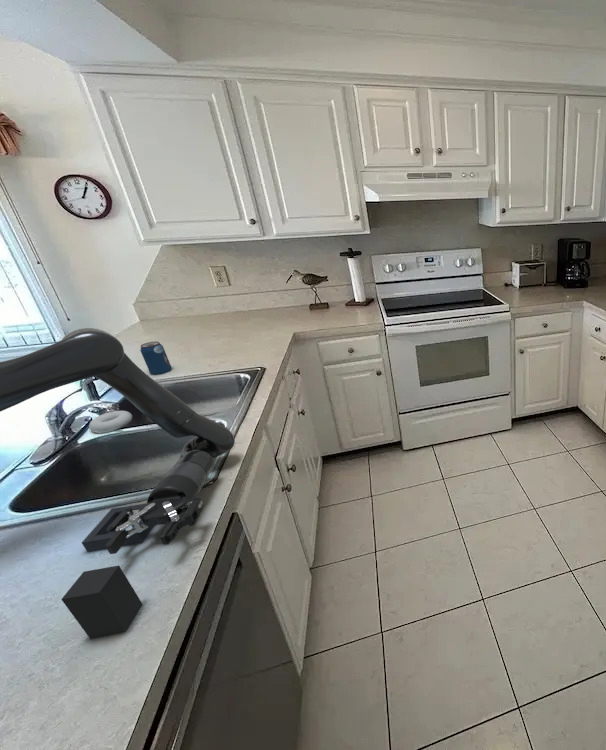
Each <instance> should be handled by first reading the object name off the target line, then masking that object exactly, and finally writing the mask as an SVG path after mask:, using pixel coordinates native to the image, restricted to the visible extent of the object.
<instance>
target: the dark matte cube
mask: <svg viewBox="0 0 606 750" xmlns="http://www.w3.org/2000/svg"><path fill="white" fill-rule="evenodd" d="M61 601H62V603H63V604H64V605H65V606H66V608H67V609H68V611H69V612H70V613H71V615H72V616H73V618H74V619H75V620H76V622H77V623H78V625H79V626H80V627H81V629H82V630H83V632H84V633H85V634H86V635H87V637H88V639H90V640H94V639H98V638H104V637H108V636H115V635H118V634H124V633H126V632H127V631H128V629H129V628H130V626H131V624H132V623H133V621H134V620H135V618H136V617H137V615H138V613H139V611H140V609H141V608H142V606H143V605H144V604H143V602H142V601H141V599H140V597H139V596H138V594H137V592H136V591H135V589H134V587H133V586H132V584H131V582H130V581H129V579H128V577H127V576H126V574H125V572H124V570H123V569H122V568H121V566H120V565H113V566H108V567H102V568H96V569H90V570H85V571H83V572H81V574H80V576H78V578H77V580H76V581H75V582H74V583H72V585H71V587H70V588H69V589H68V590H67V591H66V593H65V594H64V595H63V597H62V598H61Z"/></svg>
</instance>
